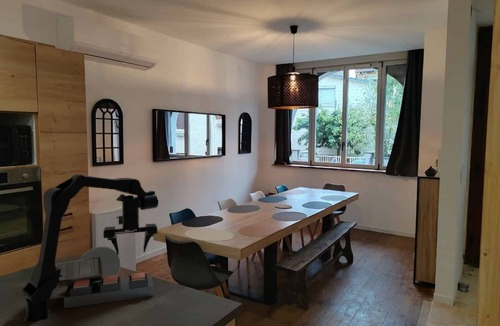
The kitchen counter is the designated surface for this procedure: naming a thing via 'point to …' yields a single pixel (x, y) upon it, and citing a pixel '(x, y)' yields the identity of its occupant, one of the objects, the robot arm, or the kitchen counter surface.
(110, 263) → the chinaware
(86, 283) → the button
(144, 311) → the kitchen counter surface
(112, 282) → the button
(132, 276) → the button
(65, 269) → the coffee box
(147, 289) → the gray slotted rack
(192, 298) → the kitchen counter surface
